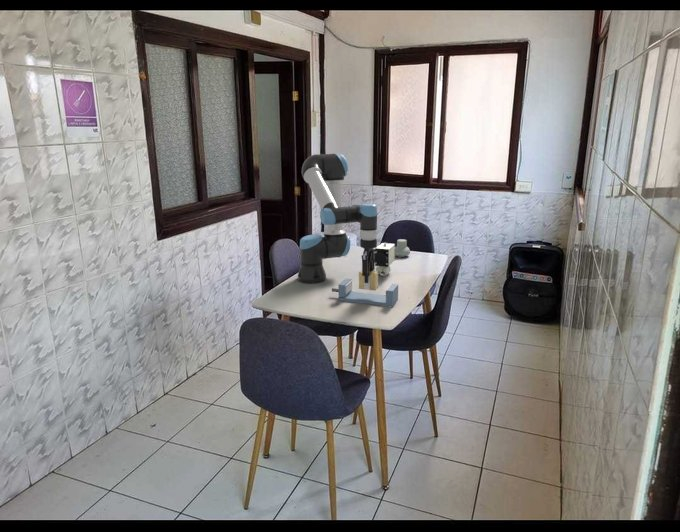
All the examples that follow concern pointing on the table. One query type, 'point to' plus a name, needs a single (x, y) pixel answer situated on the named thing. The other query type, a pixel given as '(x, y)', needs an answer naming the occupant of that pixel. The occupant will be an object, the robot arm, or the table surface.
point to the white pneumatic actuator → (384, 258)
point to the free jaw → (344, 288)
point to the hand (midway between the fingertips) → (368, 287)
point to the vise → (374, 297)
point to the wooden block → (373, 280)
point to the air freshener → (402, 248)
